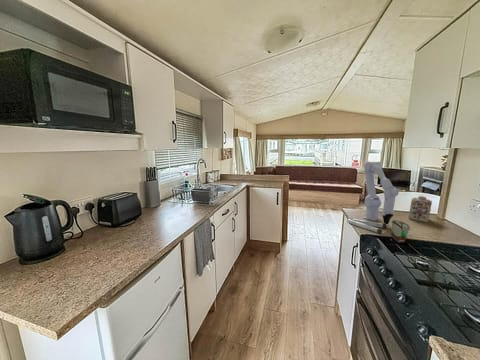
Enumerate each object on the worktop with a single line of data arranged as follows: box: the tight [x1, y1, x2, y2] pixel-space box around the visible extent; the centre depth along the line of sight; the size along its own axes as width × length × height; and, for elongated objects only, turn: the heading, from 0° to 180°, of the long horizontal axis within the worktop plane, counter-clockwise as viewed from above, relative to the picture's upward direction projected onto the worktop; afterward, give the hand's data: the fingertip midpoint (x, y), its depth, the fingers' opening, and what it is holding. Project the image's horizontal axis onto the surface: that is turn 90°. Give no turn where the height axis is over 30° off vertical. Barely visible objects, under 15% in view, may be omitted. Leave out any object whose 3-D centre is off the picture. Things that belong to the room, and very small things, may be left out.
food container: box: [390, 219, 411, 244], centre depth 122 cm, size 12×6×10 cm, turn 168°
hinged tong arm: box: [349, 217, 387, 229], centre depth 144 cm, size 22×2×3 cm, turn 62°
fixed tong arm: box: [346, 218, 383, 235], centre depth 139 cm, size 2×22×3 cm, turn 32°
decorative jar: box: [408, 195, 433, 223], centre depth 159 cm, size 12×12×18 cm
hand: (386, 223), depth 144 cm, fingers closed
